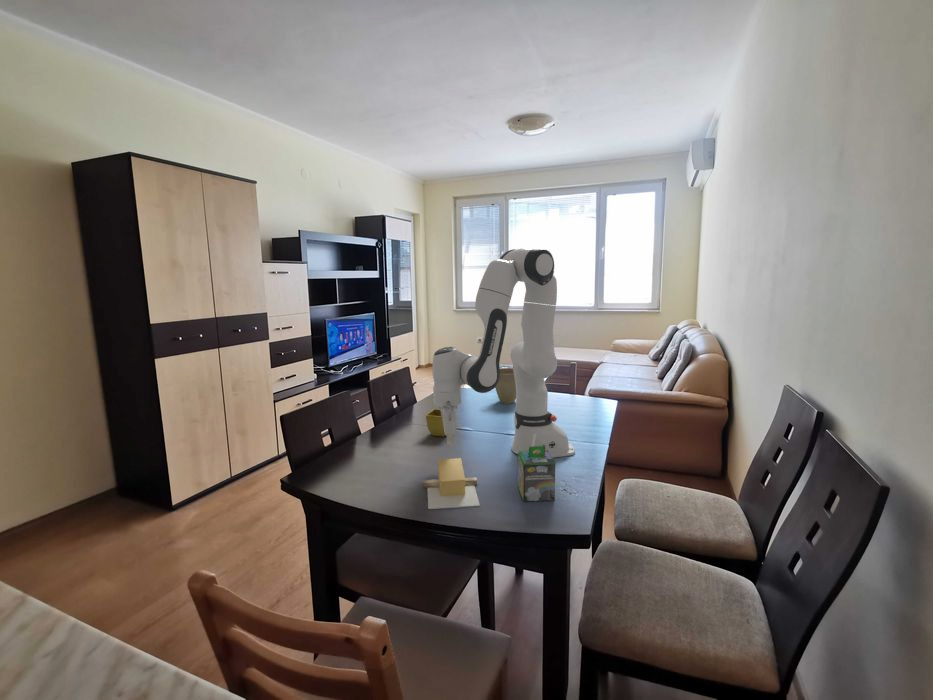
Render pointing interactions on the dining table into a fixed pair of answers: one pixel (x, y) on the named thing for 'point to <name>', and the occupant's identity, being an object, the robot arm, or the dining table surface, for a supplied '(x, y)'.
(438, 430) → the flower pot
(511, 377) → the plant pot
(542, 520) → the dining table surface
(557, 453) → the robot arm
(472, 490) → the felt mat
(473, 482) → the beech kerb
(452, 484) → the ochre block
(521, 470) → the chalk box
